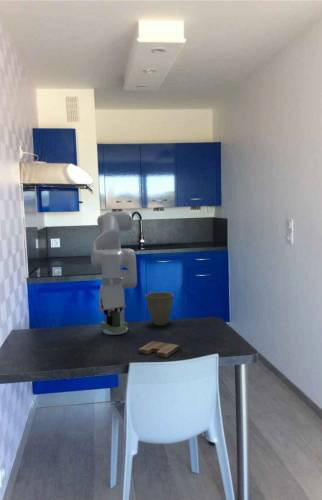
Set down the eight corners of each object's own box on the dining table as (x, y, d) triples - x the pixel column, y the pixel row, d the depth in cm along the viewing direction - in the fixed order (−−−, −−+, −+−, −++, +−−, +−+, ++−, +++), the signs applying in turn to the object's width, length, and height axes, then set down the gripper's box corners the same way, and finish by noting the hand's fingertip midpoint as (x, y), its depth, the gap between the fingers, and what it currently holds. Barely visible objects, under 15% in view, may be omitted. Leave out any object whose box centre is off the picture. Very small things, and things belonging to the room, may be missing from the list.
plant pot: (179, 322, 244) (179, 294, 242) (161, 329, 233) (160, 299, 231) (159, 318, 254) (158, 290, 252) (140, 324, 243) (139, 295, 241)
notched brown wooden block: (138, 352, 198) (138, 348, 198) (152, 344, 209) (152, 341, 209) (166, 357, 192) (166, 353, 191) (179, 349, 202) (179, 345, 202)
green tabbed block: (100, 326, 194) (99, 309, 194) (118, 323, 200) (118, 306, 199) (113, 333, 185) (113, 315, 184) (132, 329, 190) (132, 311, 189)
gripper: (123, 277, 196) (125, 319, 199) (89, 282, 187) (91, 325, 190) (132, 280, 190) (134, 322, 192) (98, 285, 181) (100, 329, 183)
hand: (113, 323), depth 191 cm, fingers closed on green tabbed block, 2 cm apart
